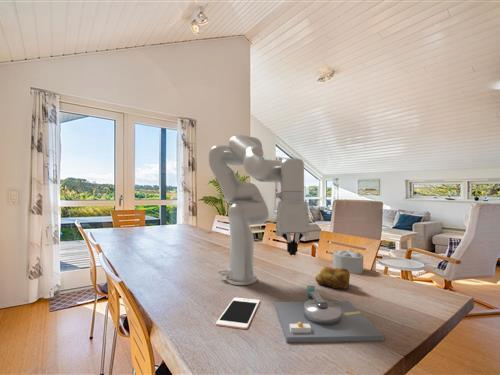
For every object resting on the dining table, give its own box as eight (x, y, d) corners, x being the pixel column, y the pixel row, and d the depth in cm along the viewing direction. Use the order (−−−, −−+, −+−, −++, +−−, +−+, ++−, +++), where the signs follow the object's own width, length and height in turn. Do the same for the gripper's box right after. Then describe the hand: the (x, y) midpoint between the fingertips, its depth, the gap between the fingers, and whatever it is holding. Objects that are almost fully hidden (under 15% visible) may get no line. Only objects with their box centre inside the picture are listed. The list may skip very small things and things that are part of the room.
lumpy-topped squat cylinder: (360, 275, 115) (360, 255, 115) (330, 270, 121) (330, 251, 121) (364, 269, 123) (364, 250, 124) (336, 264, 130) (336, 247, 130)
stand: (286, 342, 63) (286, 328, 63) (274, 305, 83) (274, 295, 83) (383, 340, 64) (384, 327, 64) (348, 304, 84) (348, 294, 84)
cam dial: (347, 324, 68) (347, 309, 69) (309, 325, 68) (309, 309, 68) (325, 297, 86) (325, 285, 86) (294, 298, 85) (295, 285, 85)
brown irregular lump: (313, 286, 101) (313, 265, 101) (319, 278, 109) (319, 259, 109) (348, 292, 94) (348, 270, 95) (352, 284, 103) (352, 263, 103)
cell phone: (260, 302, 86) (260, 299, 86) (247, 331, 68) (247, 327, 68) (234, 299, 88) (234, 297, 88) (215, 326, 70) (215, 323, 70)
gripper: (270, 197, 80) (270, 257, 80) (318, 197, 81) (318, 256, 80) (267, 196, 88) (267, 251, 87) (311, 197, 88) (311, 251, 88)
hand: (292, 254), depth 84 cm, fingers closed
